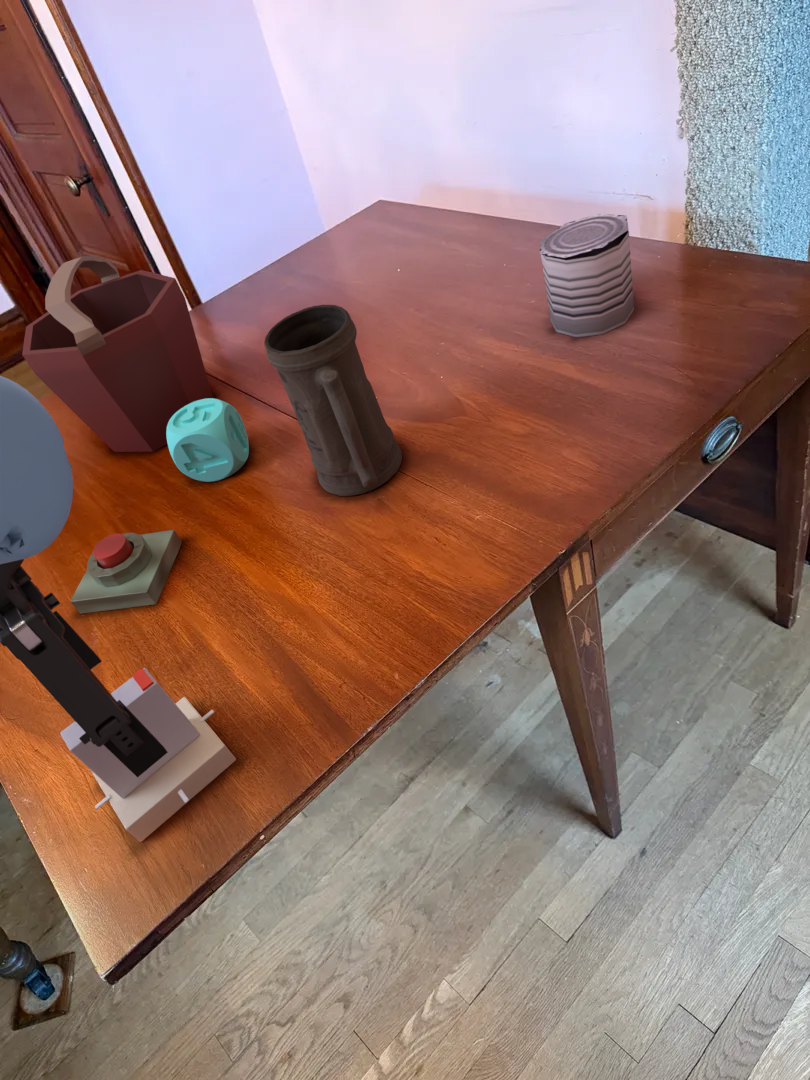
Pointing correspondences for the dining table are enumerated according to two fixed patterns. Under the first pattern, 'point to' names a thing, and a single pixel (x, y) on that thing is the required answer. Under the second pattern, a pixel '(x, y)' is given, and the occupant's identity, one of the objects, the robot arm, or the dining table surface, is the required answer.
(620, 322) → the can
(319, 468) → the beer stein
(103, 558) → the button
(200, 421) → the decorative dice
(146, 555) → the button block
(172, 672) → the dining table surface
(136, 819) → the tap base
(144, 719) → the grey lever handle
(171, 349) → the bucket
